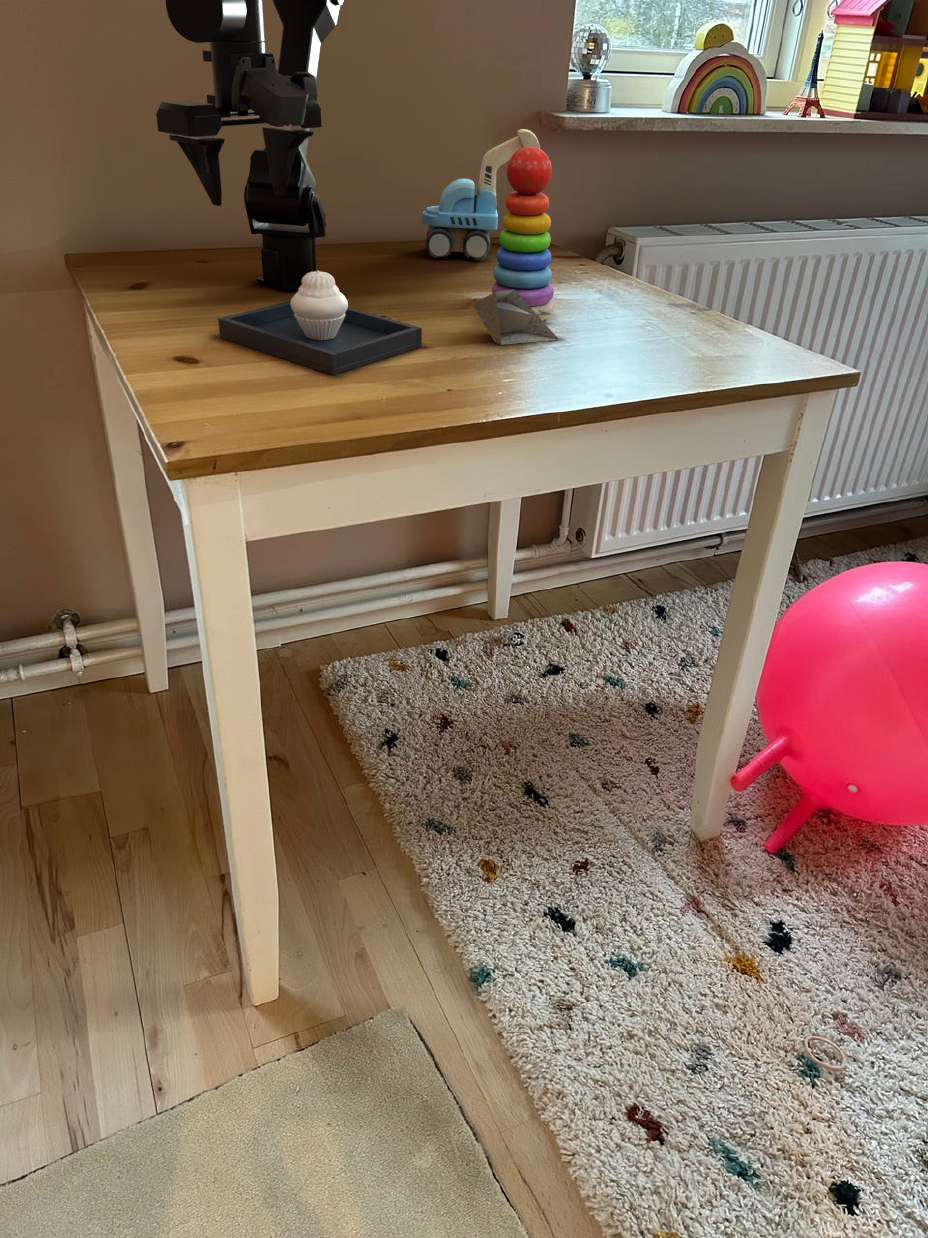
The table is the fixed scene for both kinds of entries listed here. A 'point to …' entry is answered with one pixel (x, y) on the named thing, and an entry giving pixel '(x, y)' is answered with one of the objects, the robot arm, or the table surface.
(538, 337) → the paper boat
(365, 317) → the tray
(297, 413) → the table surface
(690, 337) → the table surface
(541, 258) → the stacking toy
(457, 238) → the toy excavator
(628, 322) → the table surface
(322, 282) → the muffin
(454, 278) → the table surface
